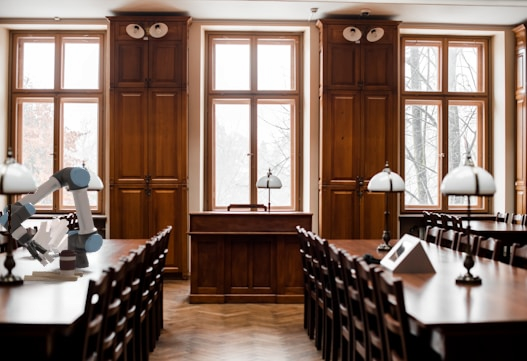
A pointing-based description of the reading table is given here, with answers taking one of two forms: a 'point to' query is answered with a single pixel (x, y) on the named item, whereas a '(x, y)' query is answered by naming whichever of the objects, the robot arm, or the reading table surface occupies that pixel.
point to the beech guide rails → (52, 276)
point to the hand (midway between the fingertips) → (49, 263)
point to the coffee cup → (67, 262)
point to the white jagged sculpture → (52, 236)
